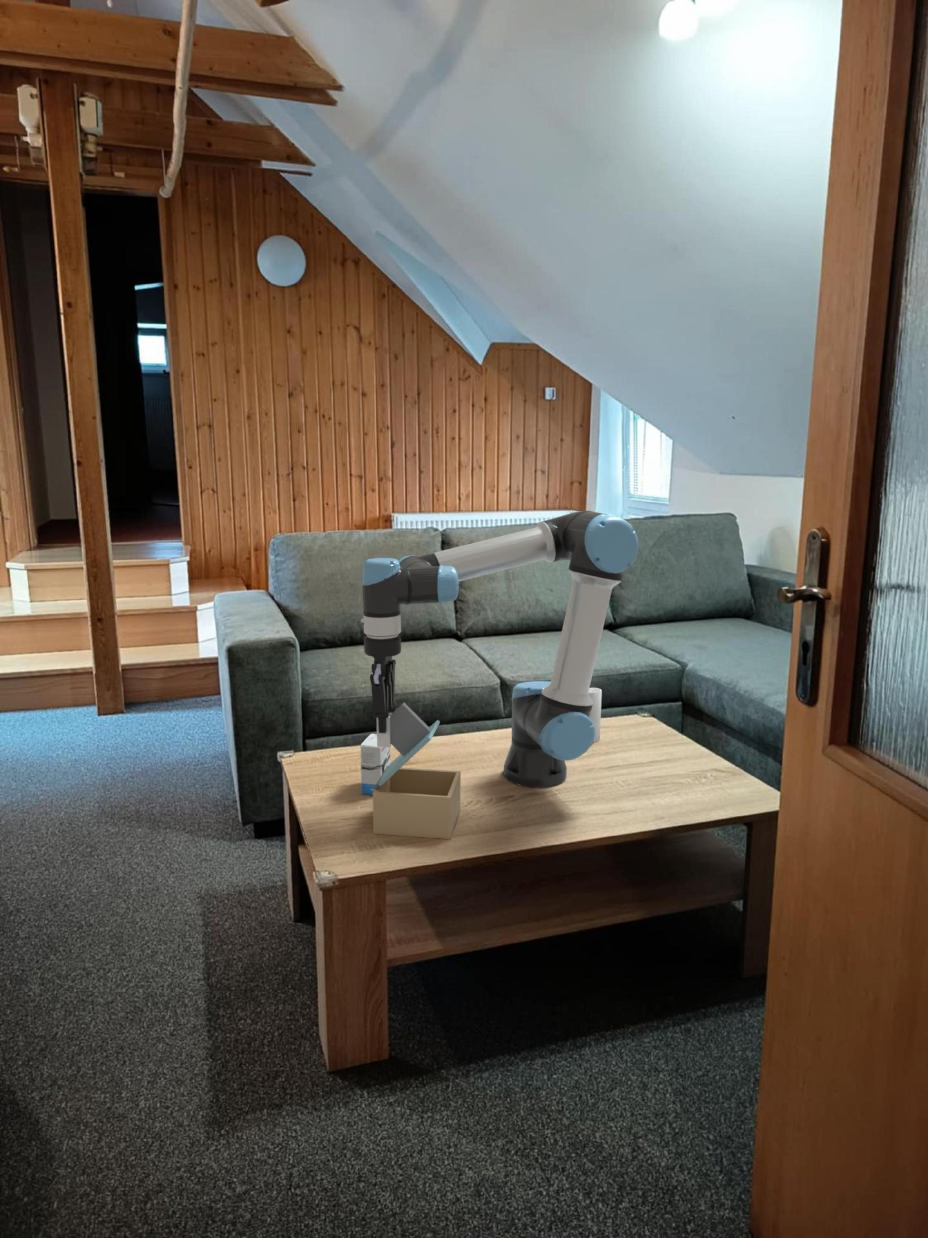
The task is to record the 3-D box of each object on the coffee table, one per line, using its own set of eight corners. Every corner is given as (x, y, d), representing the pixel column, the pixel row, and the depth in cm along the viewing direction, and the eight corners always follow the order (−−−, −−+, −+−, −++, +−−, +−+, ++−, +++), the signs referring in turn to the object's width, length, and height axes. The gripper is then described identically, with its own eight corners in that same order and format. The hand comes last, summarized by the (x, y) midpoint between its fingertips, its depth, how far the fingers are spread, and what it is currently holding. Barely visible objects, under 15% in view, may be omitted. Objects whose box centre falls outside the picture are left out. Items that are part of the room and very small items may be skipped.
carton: (460, 810, 187) (460, 771, 185) (450, 839, 173) (450, 797, 171) (388, 805, 189) (388, 767, 187) (373, 833, 175) (372, 792, 173)
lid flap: (440, 722, 182) (411, 693, 181) (431, 740, 171) (400, 709, 170) (388, 770, 185) (360, 741, 185) (376, 790, 175) (346, 760, 174)
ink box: (381, 796, 194) (380, 747, 191) (360, 794, 195) (359, 745, 192) (391, 781, 202) (391, 734, 199) (371, 779, 203) (371, 732, 200)
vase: (565, 746, 225) (568, 673, 221) (553, 737, 232) (555, 666, 228) (603, 741, 230) (606, 669, 225) (589, 732, 236) (592, 662, 232)
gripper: (372, 626, 181) (375, 732, 186) (355, 642, 167) (358, 756, 172) (407, 627, 180) (409, 733, 185) (392, 643, 166) (395, 758, 171)
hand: (385, 744), depth 178 cm, fingers closed on lid flap, 1 cm apart
